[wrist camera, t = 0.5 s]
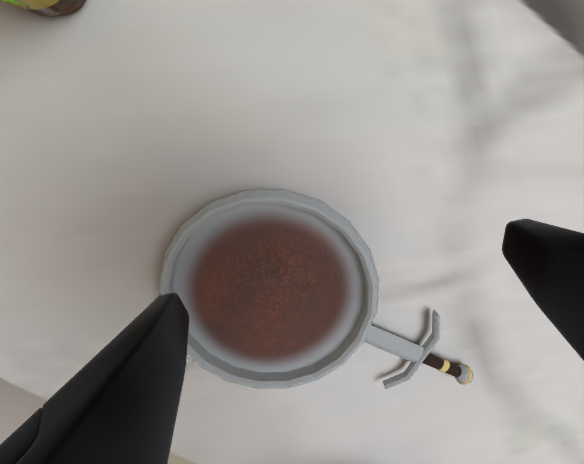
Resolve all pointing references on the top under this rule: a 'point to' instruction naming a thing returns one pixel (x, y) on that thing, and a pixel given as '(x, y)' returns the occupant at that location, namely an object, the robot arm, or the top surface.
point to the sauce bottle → (47, 6)
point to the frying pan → (281, 292)
